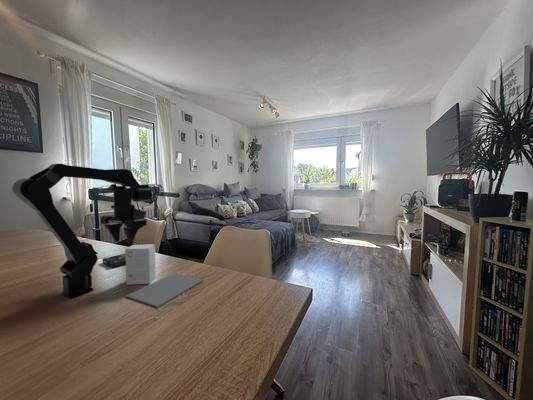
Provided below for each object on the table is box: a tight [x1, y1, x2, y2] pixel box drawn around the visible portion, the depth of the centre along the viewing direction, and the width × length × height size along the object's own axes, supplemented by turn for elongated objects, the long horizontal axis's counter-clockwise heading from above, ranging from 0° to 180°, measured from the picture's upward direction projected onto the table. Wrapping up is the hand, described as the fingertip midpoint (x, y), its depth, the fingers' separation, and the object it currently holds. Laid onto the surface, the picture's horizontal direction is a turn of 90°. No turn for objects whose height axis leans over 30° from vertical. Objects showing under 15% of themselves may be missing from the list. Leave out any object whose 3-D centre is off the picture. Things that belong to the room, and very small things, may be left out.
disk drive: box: [102, 253, 126, 269], centre depth 106 cm, size 10×3×15 cm
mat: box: [125, 272, 204, 309], centre depth 80 cm, size 20×14×1 cm
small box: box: [124, 243, 157, 285], centre depth 85 cm, size 8×6×13 cm
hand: (123, 243), depth 88 cm, fingers open, 7 cm apart
